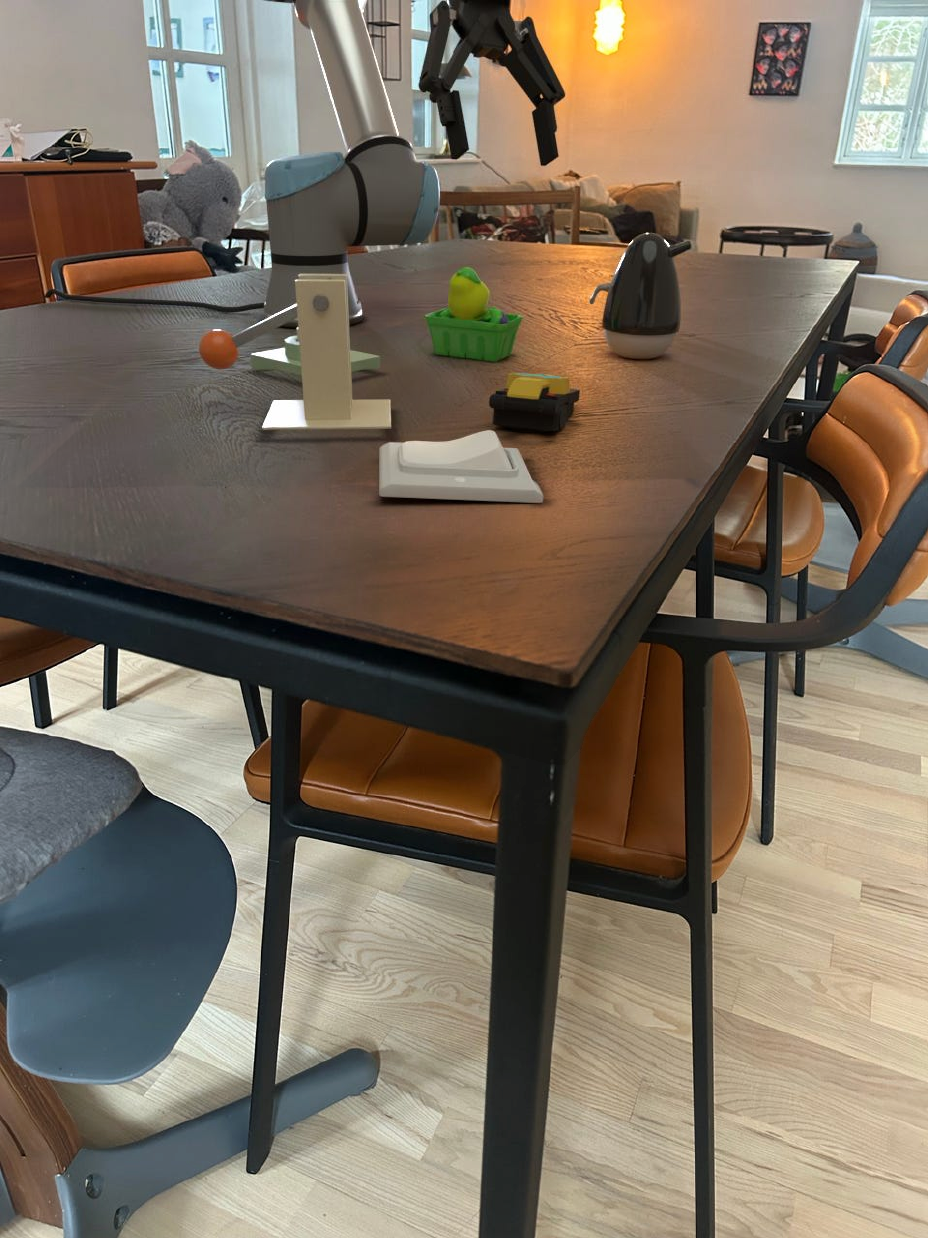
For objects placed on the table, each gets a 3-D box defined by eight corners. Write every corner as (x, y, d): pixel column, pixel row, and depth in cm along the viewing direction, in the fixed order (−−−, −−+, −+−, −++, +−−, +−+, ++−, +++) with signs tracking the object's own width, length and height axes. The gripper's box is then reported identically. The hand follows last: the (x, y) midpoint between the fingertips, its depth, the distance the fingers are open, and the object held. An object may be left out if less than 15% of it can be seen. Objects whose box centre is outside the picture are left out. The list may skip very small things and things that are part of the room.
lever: (209, 379, 82) (188, 343, 81) (215, 370, 85) (195, 336, 84) (344, 312, 80) (325, 274, 79) (346, 306, 84) (327, 269, 82)
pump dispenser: (678, 365, 113) (694, 237, 106) (597, 360, 115) (607, 234, 108) (677, 349, 122) (692, 230, 115) (602, 345, 124) (612, 228, 117)
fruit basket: (523, 353, 118) (527, 264, 113) (498, 366, 111) (501, 271, 106) (447, 345, 123) (447, 258, 117) (418, 357, 115) (417, 265, 110)
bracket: (262, 440, 82) (247, 284, 76) (274, 412, 91) (261, 269, 84) (391, 439, 83) (387, 284, 77) (390, 411, 92) (386, 270, 85)
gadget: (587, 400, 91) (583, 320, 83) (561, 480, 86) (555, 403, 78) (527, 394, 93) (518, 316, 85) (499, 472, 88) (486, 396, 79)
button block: (252, 372, 107) (248, 338, 105) (314, 359, 113) (312, 327, 112) (318, 388, 100) (315, 352, 98) (380, 374, 107) (379, 340, 105)
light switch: (548, 460, 67) (380, 453, 66) (542, 511, 69) (378, 505, 68) (527, 421, 77) (380, 414, 75) (522, 467, 79) (378, 460, 77)
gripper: (399, -71, 94) (436, 135, 97) (574, -31, 107) (603, 150, 110) (367, -28, 100) (403, 165, 103) (536, 5, 114) (564, 175, 116)
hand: (506, 158), depth 106 cm, fingers open, 13 cm apart
